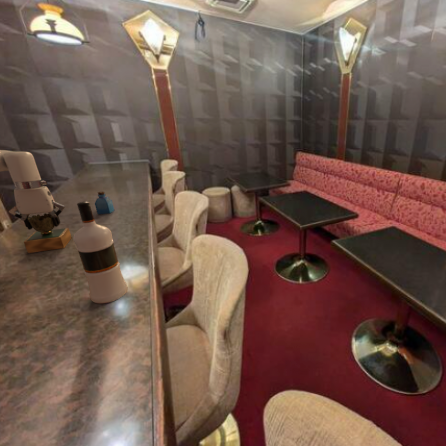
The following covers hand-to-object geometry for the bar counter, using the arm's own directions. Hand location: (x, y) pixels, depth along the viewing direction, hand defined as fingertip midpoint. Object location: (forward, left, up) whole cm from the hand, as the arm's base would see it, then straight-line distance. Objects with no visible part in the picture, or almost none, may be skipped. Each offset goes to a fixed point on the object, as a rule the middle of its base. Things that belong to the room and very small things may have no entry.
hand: (44, 226), depth 102 cm
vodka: (+27, -50, -9) cm, 58 cm away
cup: (0, 0, -4) cm, 4 cm away
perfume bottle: (+13, +42, -9) cm, 45 cm away
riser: (0, 0, -9) cm, 9 cm away
